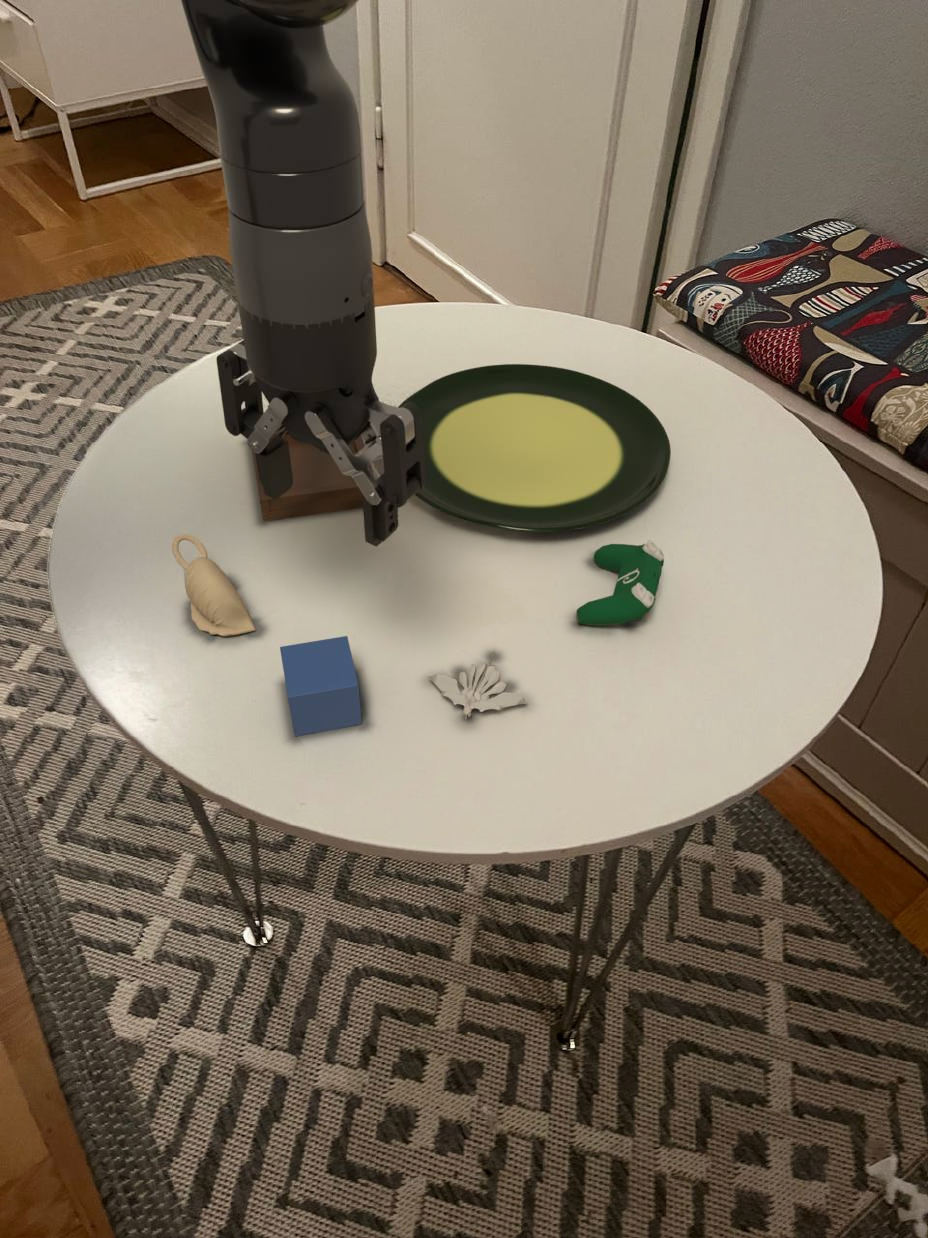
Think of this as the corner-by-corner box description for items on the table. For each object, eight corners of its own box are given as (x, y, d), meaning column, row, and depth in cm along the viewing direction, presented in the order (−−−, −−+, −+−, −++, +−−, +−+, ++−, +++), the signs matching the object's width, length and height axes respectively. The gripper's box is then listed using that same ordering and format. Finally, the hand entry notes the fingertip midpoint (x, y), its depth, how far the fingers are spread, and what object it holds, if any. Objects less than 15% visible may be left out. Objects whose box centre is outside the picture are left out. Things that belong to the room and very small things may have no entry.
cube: (294, 736, 70) (287, 697, 67) (286, 686, 73) (279, 646, 70) (362, 724, 71) (358, 685, 68) (351, 675, 74) (347, 635, 71)
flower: (446, 652, 77) (448, 625, 76) (541, 676, 76) (545, 649, 74) (414, 710, 72) (415, 682, 70) (516, 737, 70) (520, 709, 68)
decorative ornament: (208, 649, 76) (195, 601, 72) (176, 585, 81) (163, 537, 77) (256, 632, 77) (247, 584, 73) (222, 570, 82) (212, 522, 78)
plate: (453, 584, 82) (453, 562, 80) (345, 414, 99) (343, 394, 98) (724, 504, 90) (729, 483, 88) (580, 361, 108) (582, 341, 106)
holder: (263, 521, 87) (259, 500, 85) (250, 443, 96) (247, 422, 94) (377, 505, 89) (376, 484, 87) (355, 430, 97) (353, 409, 96)
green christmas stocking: (597, 648, 79) (657, 624, 75) (569, 618, 78) (629, 592, 74) (618, 576, 85) (674, 551, 82) (592, 547, 84) (648, 520, 80)
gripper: (161, 276, 53) (210, 506, 64) (368, 352, 47) (381, 588, 59) (253, 229, 57) (283, 452, 69) (450, 293, 52) (448, 523, 64)
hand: (328, 514), depth 64 cm, fingers open, 8 cm apart
